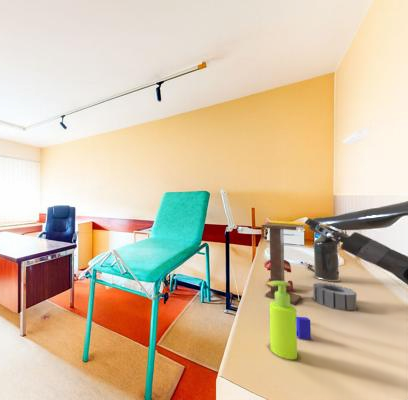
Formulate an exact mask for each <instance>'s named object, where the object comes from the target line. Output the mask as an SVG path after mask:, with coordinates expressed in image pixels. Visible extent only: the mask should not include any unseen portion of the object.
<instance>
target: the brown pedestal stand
mask: <svg viewBox="0 0 408 400" xmlns="http://www.w3.org/2000/svg"><path fill="white" fill-rule="evenodd" d="M262 228H263V229H269V260H270V271H269V272H270V279H271V281H285V270H284V260H285V243H284V242H285V241H284V236H285V235H284V230H286V231H287V230H288V231H298V230H302V229H304V226H297V225H283V224H269V223H265V224H261V229H262ZM276 291H278V286H274V287H273V286H271V288H270V290H269V291H267V292H266V293H265V297H266V298H270V299H273V300H275V292H276ZM286 293H288V294H289V295H290V305H292V306H295V305H297V303H298V302H299V301H300V300H302V295H301V294H297V293H293V292H286Z"/></svg>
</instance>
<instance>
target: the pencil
mask: <svg viewBox="0 0 408 400" xmlns="http://www.w3.org/2000/svg"><path fill="white" fill-rule="evenodd" d="M264 223H265V224H283V225H297V226H303V227H309V225H307V224H305V222H300V221H285V220H284V221H283V220H271V219H270V220H269V219H268V220H265V221H264ZM322 225H324V226H326V227H327V224H322Z"/></svg>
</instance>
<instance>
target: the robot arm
mask: <svg viewBox="0 0 408 400" xmlns="http://www.w3.org/2000/svg"><path fill="white" fill-rule="evenodd" d="M407 216H408V200H406V201H401V202H398V203H393V204H388V205H383V206H376V207H369V208H365V209H364V208H363V209H360V210H354V211H350V212H346V213H342V214H338V215H333V216H318V217H314V218H307V219H306V220H305V222H304V223H305V224H307V225H309V226H308V229H309V230H310V231H311V232H313V233H314V234H316V235H320V237H318V238H317V239H315V240H314V241H313V260H314V261H313V262H314V264H313V265H314V266H313V265H312V264H311V263H309V264H307V265H308V266H307V268H308V269H309V270H310V271H312V272H314V275H313V276H314V278H316V279H318V280H320V281H321V280H322V281H326V282H333V283H335V282H336V283H337V282H340V262H339V248H340V249H341V250H343V251H345V252H347V253H349V254H351V255H353V256H355V257H356V258H359V259H361V260H363V261H365V262H367V263H370V264H372V265H375V266H376V267H378V268H380V269H382V270H384V271H387V272H388V273H391V274H392V275H394V276H395V277H396V278H397V279H398V280H400V281H401V282H403V283H404V284H405V285H407V286H408V255H406V254H404V253H402V252H400V251H397V250H395V249H393V248H391V247H389V246H387V245H386V244H383V243H382V242H380V241H377V240H375V239H373V238H371V237H368V236H366V235H363V234H362V233H359V232H357V231H372V230H381V229H386V228H390V227H393V226H394V225H395V224H396V223H398V222H399V221H401V219H402V218H405V217H407ZM322 224H327V227H326V226H324V225H322ZM345 231H354V232H352V233H351V234H350V235H349V234H346V233H345ZM341 243H342V244H341ZM340 244H341V246H340V247H339V245H340ZM300 264H304V263H303V262H302V261H300ZM310 264H311V265H310ZM311 267H314V268H311Z"/></svg>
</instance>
